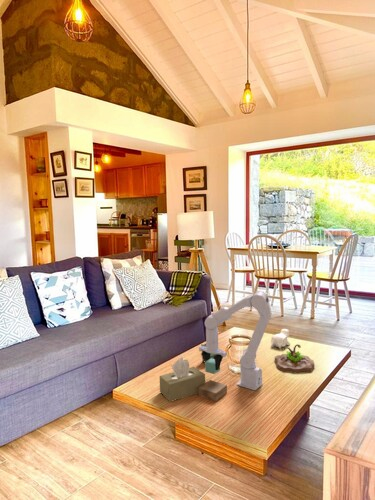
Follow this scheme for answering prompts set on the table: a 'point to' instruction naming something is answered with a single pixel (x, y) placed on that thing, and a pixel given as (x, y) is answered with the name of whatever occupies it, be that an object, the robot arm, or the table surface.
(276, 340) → the white animal figurine
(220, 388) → the walnut block
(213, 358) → the food container
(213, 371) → the teal cube
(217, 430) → the table surface
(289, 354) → the plant
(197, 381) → the tissue box
